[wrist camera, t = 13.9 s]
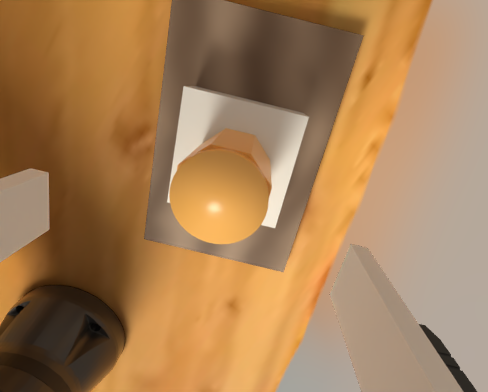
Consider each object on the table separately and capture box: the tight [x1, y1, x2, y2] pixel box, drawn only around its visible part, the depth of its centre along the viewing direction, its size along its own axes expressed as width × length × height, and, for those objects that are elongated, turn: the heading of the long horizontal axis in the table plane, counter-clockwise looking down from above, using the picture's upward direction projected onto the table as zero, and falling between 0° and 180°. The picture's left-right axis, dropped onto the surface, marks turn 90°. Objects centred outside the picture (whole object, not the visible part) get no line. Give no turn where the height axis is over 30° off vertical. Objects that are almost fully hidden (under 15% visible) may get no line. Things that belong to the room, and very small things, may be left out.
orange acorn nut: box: [169, 128, 272, 244], centre depth 20 cm, size 6×6×8 cm
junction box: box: [167, 86, 309, 228], centre depth 24 cm, size 10×10×9 cm
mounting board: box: [144, 0, 363, 272], centre depth 29 cm, size 16×24×2 cm, turn 167°
